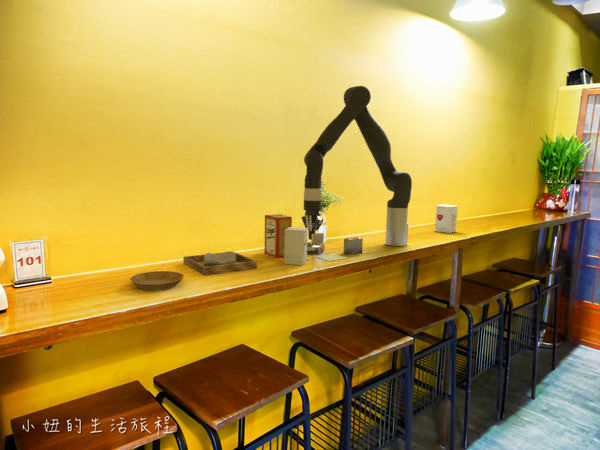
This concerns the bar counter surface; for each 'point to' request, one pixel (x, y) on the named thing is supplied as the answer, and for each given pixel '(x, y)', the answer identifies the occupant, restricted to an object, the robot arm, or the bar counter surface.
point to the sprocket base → (315, 252)
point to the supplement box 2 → (446, 218)
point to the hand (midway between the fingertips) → (311, 239)
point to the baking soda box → (276, 234)
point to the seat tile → (330, 257)
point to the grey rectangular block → (353, 245)
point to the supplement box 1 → (295, 246)
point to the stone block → (219, 259)
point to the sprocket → (316, 243)
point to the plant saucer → (156, 280)
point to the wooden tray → (243, 265)
